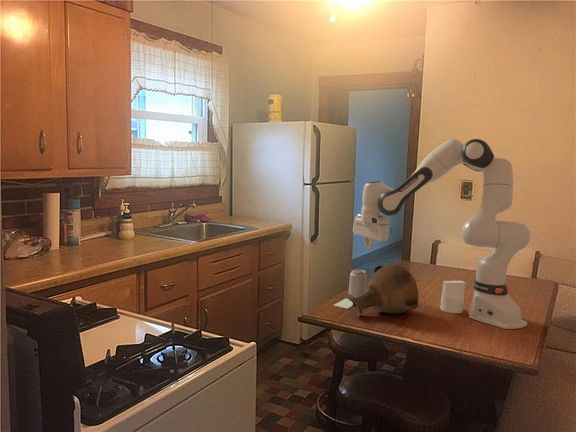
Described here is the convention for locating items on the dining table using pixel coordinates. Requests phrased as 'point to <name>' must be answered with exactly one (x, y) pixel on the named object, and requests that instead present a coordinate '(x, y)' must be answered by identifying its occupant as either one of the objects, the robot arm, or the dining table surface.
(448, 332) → the dining table surface
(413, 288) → the jug
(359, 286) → the can
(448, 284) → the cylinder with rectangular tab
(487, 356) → the dining table surface
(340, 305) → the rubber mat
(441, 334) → the dining table surface
